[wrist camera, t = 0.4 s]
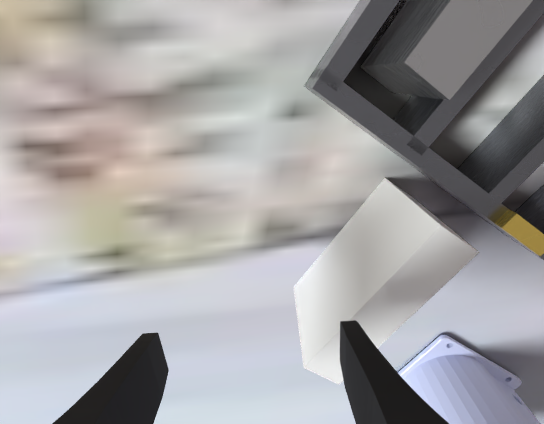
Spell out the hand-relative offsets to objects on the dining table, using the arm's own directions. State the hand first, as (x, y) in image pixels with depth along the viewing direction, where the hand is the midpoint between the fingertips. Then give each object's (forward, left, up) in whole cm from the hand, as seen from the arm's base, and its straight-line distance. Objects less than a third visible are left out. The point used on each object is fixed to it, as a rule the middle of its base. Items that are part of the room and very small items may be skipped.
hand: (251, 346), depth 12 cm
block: (-6, -3, -10) cm, 12 cm away
